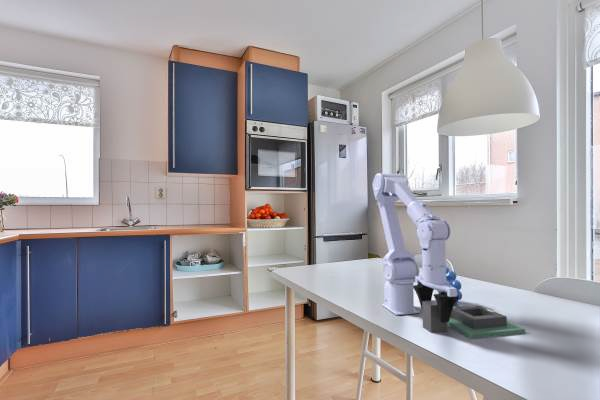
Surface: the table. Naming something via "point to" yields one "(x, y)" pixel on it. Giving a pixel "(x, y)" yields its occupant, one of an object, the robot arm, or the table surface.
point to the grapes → (453, 283)
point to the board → (485, 331)
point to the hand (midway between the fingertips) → (434, 316)
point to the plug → (432, 317)
